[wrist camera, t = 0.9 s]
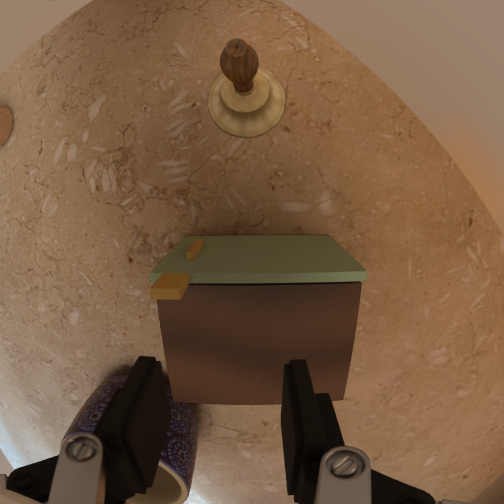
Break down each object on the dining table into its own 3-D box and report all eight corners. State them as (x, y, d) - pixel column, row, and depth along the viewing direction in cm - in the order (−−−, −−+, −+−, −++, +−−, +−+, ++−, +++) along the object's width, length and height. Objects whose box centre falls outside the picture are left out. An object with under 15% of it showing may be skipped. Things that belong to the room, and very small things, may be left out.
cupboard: (185, 246, 35) (154, 284, 24) (328, 245, 35) (362, 283, 23) (193, 339, 38) (173, 402, 27) (320, 338, 38) (343, 400, 27)
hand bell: (221, 147, 32) (194, 130, 17) (198, 79, 30) (157, 18, 15) (295, 124, 32) (331, 90, 16) (271, 57, 30) (283, -18, 14)
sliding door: (184, 230, 34) (134, 278, 19) (329, 229, 34) (383, 276, 19) (184, 242, 35) (136, 299, 20) (328, 241, 35) (381, 296, 19)
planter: (85, 358, 40) (36, 423, 25) (190, 358, 39) (165, 441, 25) (120, 435, 44) (93, 499, 29) (213, 439, 43) (203, 515, 29)
